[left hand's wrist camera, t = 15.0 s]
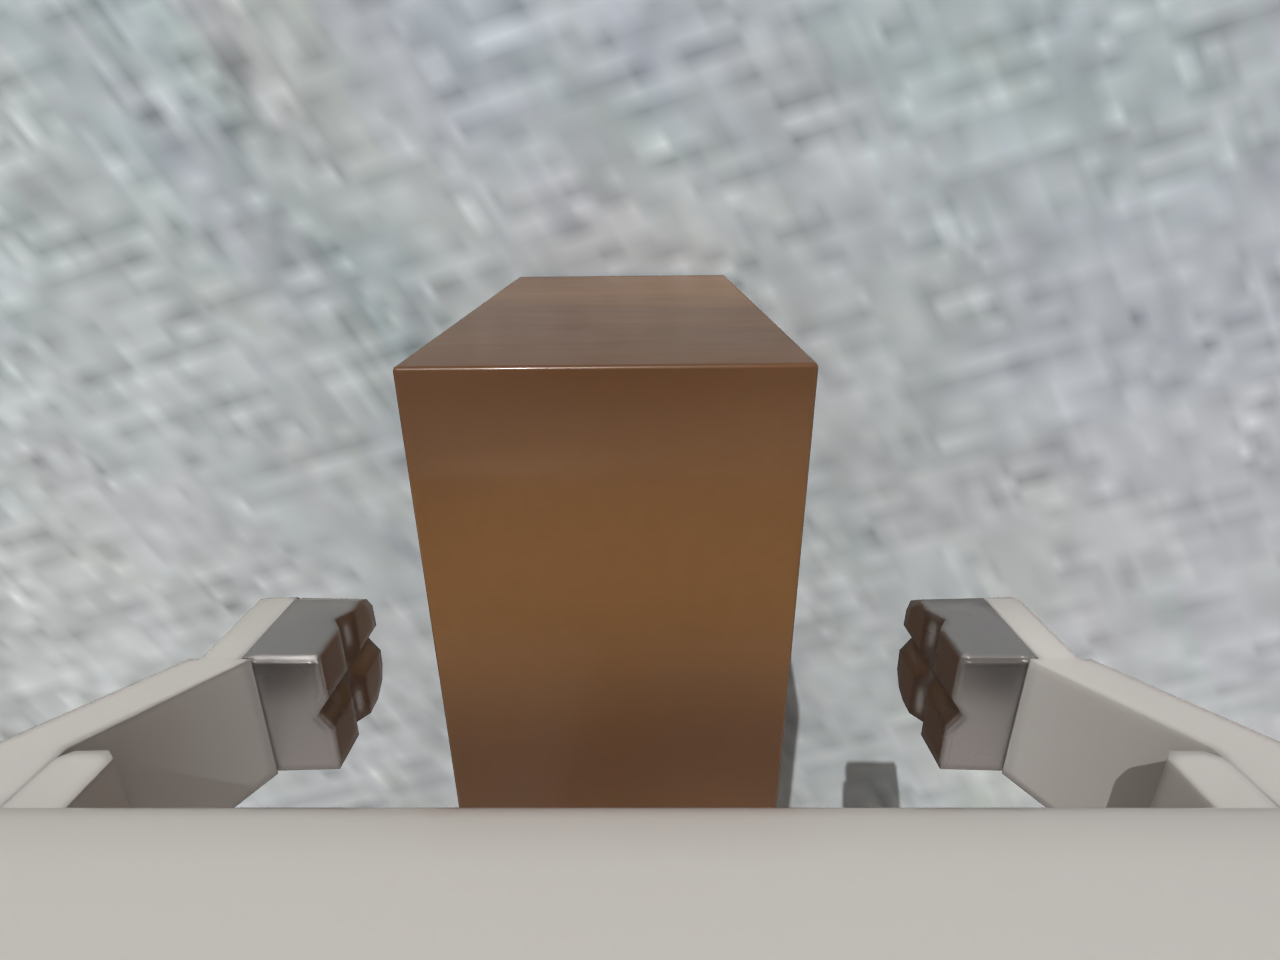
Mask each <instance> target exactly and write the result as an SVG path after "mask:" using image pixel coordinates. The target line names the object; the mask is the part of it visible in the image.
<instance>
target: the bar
mask: <svg viewBox="0 0 1280 960" xmlns="http://www.w3.org/2000/svg"><path fill="white" fill-rule="evenodd" d="M393 375H394V381H395V388H396V394H397V401H398V408H399V414H400V421H401V427H402V434H403V440H404V447H405V454H406V460H407V467H408V473H409V480H410V486H411V493H412V500H413V506H414V513H415V519H416V526H417V533H418V539H419V546H420V552H421V559H422V565H423V572H424V579H425V585H426V592H427V598H428V605H429V611H430V618H431V625H432V631H433V638H434V644H435V651H436V658H437V664H438V671H439V677H440V684H441V690H442V697H443V704H444V710H445V717H446V723H447V730H448V736H449V743H450V750H451V756H452V763H453V769H454V776H455V783H456V789H457V796H458V802H459V808H777V799H778V788H779V777H780V767H781V756H782V746H783V735H784V725H785V714H786V703H787V693H788V682H789V672H790V661H791V650H792V640H793V629H794V619H795V608H796V598H797V587H798V576H799V566H800V555H801V545H802V534H803V523H804V513H805V502H806V492H807V481H808V471H809V460H810V449H811V439H812V428H813V418H814V407H815V396H816V386H817V375H818V365H817V363H816V362H815V361H814V360H813V359H812V358H811V357H809V356H808V355H807V354H806V353H805V352H804V351H803V350H802V349H801V348H800V347H799V346H798V345H797V344H796V343H795V342H794V341H793V340H792V339H791V338H789V337H788V336H787V335H786V334H785V333H784V332H783V331H782V330H781V329H780V328H779V327H778V326H777V325H776V324H775V323H774V322H773V321H772V320H770V319H769V318H768V317H767V316H766V315H765V314H764V313H763V312H762V311H761V310H760V309H759V308H758V307H757V306H756V305H755V304H754V303H753V302H752V301H750V300H749V299H748V298H747V297H746V296H745V295H744V294H743V293H742V292H741V291H740V290H739V289H738V288H737V287H736V286H735V285H734V284H733V283H731V282H730V281H729V280H728V279H727V278H726V277H725V276H724V275H691V276H583V277H520V278H518V279H517V280H515V281H514V282H513V283H511V284H510V285H508V286H507V287H506V288H504V289H503V290H501V291H500V292H499V293H497V294H496V295H495V296H493V297H492V298H490V299H489V300H488V301H486V302H485V303H483V304H482V305H481V306H479V307H478V308H476V309H475V310H474V311H472V312H471V313H469V314H468V315H467V316H465V317H464V318H462V319H461V320H460V321H458V322H457V323H456V324H454V325H453V326H451V327H450V328H449V329H447V330H446V331H444V332H443V333H442V334H440V335H439V336H437V337H436V338H435V339H433V340H432V341H430V342H429V343H428V344H426V345H425V346H423V347H422V348H421V349H419V350H418V351H417V352H415V353H414V354H412V355H411V356H410V357H408V358H407V359H405V360H404V361H403V362H401V363H400V364H398V365H397V366H396V367H394V369H393Z"/></svg>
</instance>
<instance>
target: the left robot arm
mask: <svg viewBox="0 0 1280 960" xmlns="http://www.w3.org/2000/svg"><path fill="white" fill-rule="evenodd" d="M375 626H376V621H375V616H374V611H373V606H372V605H371V604H370V603H369V601H368V600H367V599H331V598H301V599H300V598H298V597H291V598H267V599H261V600H260V601H259V602H258V603H257V604H256V605H255V606H254V607H253V608H252V609H251V610H250V611H249V612H248V613H247V614H246V615H245V616H244V617H243V618H242V619H241V620H240V621H239V622H238V623H237V624H236V625H235V626H234V627H233V628H232V629H231V630H230V631H229V632H228V633H227V634H226V635H225V636H224V637H223V638H222V639H221V640H220V641H219V642H218V643H217V644H216V645H215V646H214V647H213V648H212V649H211V650H210V651H209V652H207V653H206V654H205V655H204V656H203V657H202V658H201V659H189V660H187V661H184V662H182V663H180V664H177V665H175V666H173V667H171V668H168V669H166V670H164V671H161V672H159V673H157V674H154V675H152V676H150V677H148V678H145V679H143V680H141V681H138V682H136V683H134V684H132V685H129V686H127V687H125V688H122V689H120V690H118V691H116V692H113V693H111V694H109V695H106V696H104V697H102V698H100V699H97V700H95V701H93V702H90V703H88V704H86V705H84V706H81V707H79V708H77V709H74V710H72V711H70V712H68V713H65V714H63V715H61V716H58V717H56V718H54V719H51V720H49V721H47V722H45V723H42V724H40V725H38V726H35V727H33V728H31V729H29V730H26V731H24V732H22V733H19V734H17V735H15V736H13V737H10V738H8V739H6V740H3V741H1V742H0V960H1280V742H1278V741H1276V740H1274V739H1271V738H1269V737H1267V736H1265V735H1262V734H1260V733H1258V732H1256V731H1253V730H1251V729H1249V728H1246V727H1244V726H1242V725H1240V724H1237V723H1235V722H1233V721H1230V720H1228V719H1226V718H1224V717H1221V716H1219V715H1217V714H1214V713H1212V712H1210V711H1208V710H1205V709H1203V708H1201V707H1198V706H1196V705H1194V704H1192V703H1189V702H1187V701H1185V700H1182V699H1180V698H1178V697H1176V696H1173V695H1171V694H1169V693H1167V692H1164V691H1162V690H1160V689H1157V688H1155V687H1153V686H1151V685H1148V684H1146V683H1144V682H1141V681H1139V680H1137V679H1135V678H1132V677H1130V676H1128V675H1125V674H1123V673H1121V672H1119V671H1116V670H1114V669H1112V668H1109V667H1107V666H1105V665H1103V664H1100V663H1098V662H1096V661H1093V660H1091V659H1079V658H1078V657H1077V656H1076V655H1075V654H1074V653H1073V652H1072V651H1071V650H1070V649H1069V648H1068V647H1067V646H1066V645H1065V644H1064V643H1062V642H1061V641H1060V640H1059V639H1058V638H1057V637H1056V636H1055V635H1054V634H1053V633H1052V632H1051V631H1050V630H1049V629H1048V628H1047V627H1046V626H1045V625H1044V624H1043V623H1042V622H1041V621H1040V620H1039V619H1038V618H1037V617H1036V616H1035V615H1034V614H1033V613H1032V612H1031V611H1030V610H1029V609H1028V608H1027V607H1026V606H1025V605H1024V604H1023V603H1022V602H1021V601H1020V600H1018V599H1015V598H1012V597H1003V598H972V599H931V600H911V601H910V603H909V606H908V608H907V610H906V615H905V621H904V626H905V628H906V629H907V631H908V632H909V634H910V635H911V637H912V638H911V639H910V640H909V641H908V642H907V643H906V644H905V645H904V646H903V647H902V648H901V649H900V652H899V660H898V668H897V671H898V682H899V689H900V692H901V696H902V699H903V702H904V704H905V705H906V707H907V709H908V711H909V713H910V714H912V715H913V716H915V717H917V718H918V719H920V720H921V721H923V726H922V732H921V735H922V737H923V739H924V741H925V742H926V744H927V746H928V748H929V750H930V751H931V753H932V755H933V757H934V759H935V760H936V762H937V764H938V766H939V768H940V769H966V770H1003V771H1002V774H1004V775H1005V776H1006V777H1007V778H1009V779H1010V780H1011V781H1013V782H1014V783H1015V784H1016V785H1018V786H1019V787H1020V788H1022V789H1023V790H1024V791H1025V792H1027V793H1028V794H1029V795H1031V796H1032V797H1033V798H1034V799H1036V800H1037V801H1038V802H1040V803H1041V804H1042V805H1043V806H1045V807H1046V808H234V807H236V806H237V805H238V804H239V803H241V802H242V801H243V800H245V799H246V798H247V797H248V796H250V795H251V794H252V793H254V792H255V791H256V790H257V789H259V788H260V787H261V786H263V785H264V784H265V783H266V782H268V781H269V780H270V779H272V778H273V777H274V776H275V775H277V774H278V771H277V770H312V769H340V768H341V766H342V764H343V762H344V760H345V759H346V757H347V755H348V753H349V751H350V750H351V748H352V746H353V744H354V742H355V741H356V739H357V737H358V735H359V732H358V726H357V721H359V720H360V719H362V718H363V717H365V716H367V715H368V714H370V713H371V711H372V709H373V707H374V705H375V703H376V701H377V700H378V696H379V692H380V687H381V683H382V658H381V651H380V649H379V648H378V647H377V646H376V645H375V644H374V643H373V642H372V641H371V640H370V639H369V638H368V637H369V635H370V634H371V632H372V631H373V629H374V628H375Z"/></svg>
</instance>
